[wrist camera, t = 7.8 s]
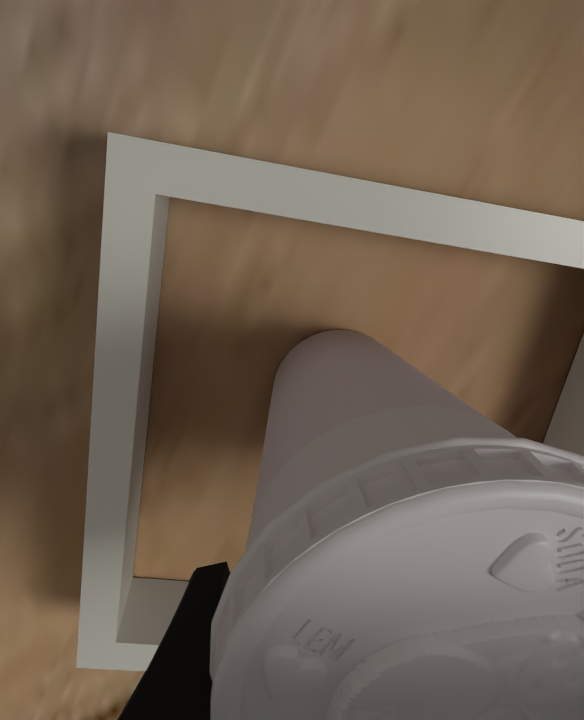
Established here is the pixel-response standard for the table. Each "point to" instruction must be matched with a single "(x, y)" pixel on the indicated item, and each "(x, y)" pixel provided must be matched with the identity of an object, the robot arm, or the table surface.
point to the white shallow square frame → (139, 326)
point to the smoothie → (400, 556)
